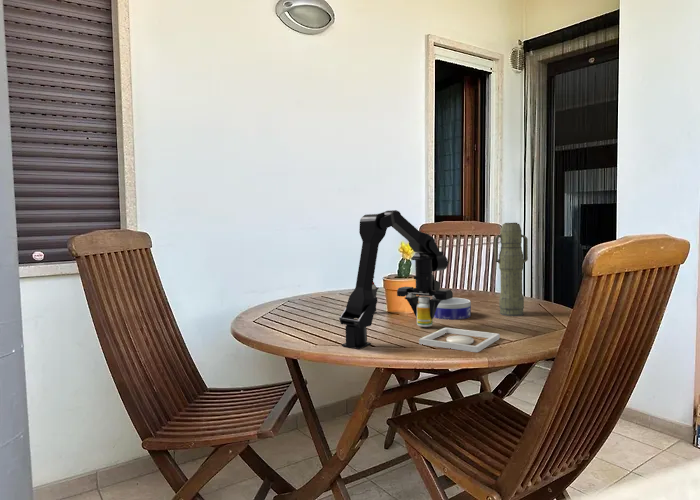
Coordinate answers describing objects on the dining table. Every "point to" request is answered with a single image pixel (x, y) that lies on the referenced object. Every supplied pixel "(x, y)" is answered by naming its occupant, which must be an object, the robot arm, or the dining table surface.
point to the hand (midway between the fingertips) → (424, 317)
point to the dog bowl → (453, 309)
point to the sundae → (374, 291)
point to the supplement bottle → (424, 312)
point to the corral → (429, 341)
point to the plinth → (460, 339)
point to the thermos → (511, 268)
